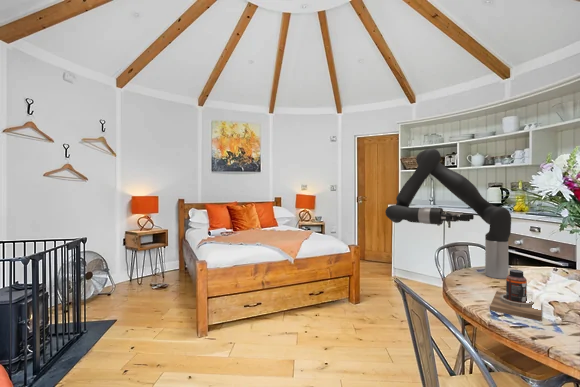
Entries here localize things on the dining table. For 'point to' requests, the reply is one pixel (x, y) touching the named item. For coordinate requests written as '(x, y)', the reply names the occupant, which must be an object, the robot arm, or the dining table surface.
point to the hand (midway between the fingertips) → (471, 217)
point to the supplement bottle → (516, 286)
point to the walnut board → (514, 307)
